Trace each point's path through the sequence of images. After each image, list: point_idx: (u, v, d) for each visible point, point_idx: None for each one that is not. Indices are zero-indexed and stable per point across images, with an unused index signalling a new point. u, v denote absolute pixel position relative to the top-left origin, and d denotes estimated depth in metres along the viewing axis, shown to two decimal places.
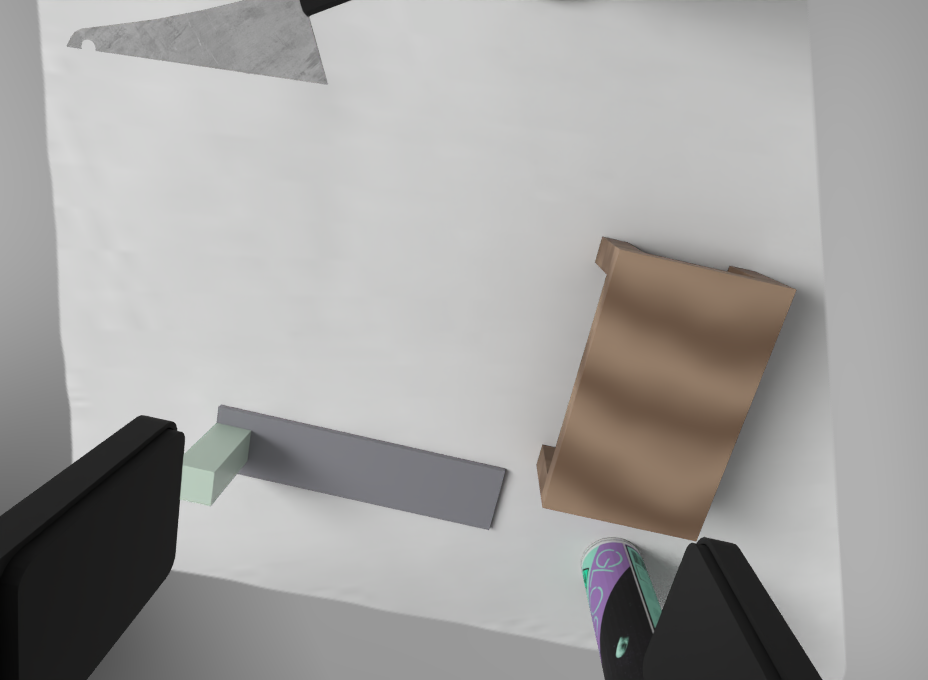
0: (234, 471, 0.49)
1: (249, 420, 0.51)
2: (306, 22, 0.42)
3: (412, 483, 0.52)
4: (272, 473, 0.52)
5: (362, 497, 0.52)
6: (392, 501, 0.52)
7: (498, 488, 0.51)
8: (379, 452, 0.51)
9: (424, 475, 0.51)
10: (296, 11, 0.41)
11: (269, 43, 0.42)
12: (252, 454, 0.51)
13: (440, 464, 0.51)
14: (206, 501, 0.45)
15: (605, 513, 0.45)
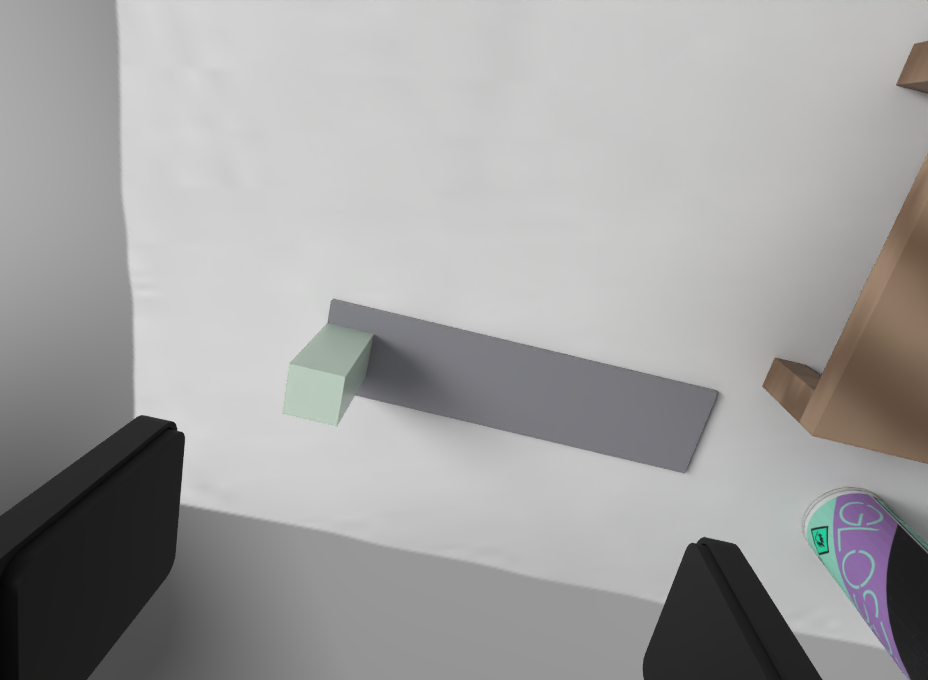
0: (356, 385, 0.36)
1: (372, 319, 0.37)
2: None
3: (587, 409, 0.38)
4: (398, 393, 0.39)
5: (517, 427, 0.39)
6: (558, 433, 0.39)
7: (705, 416, 0.38)
8: (546, 365, 0.38)
9: (605, 397, 0.38)
10: None
11: None
12: (373, 367, 0.38)
13: (629, 383, 0.38)
14: (330, 420, 0.32)
15: (903, 445, 0.31)
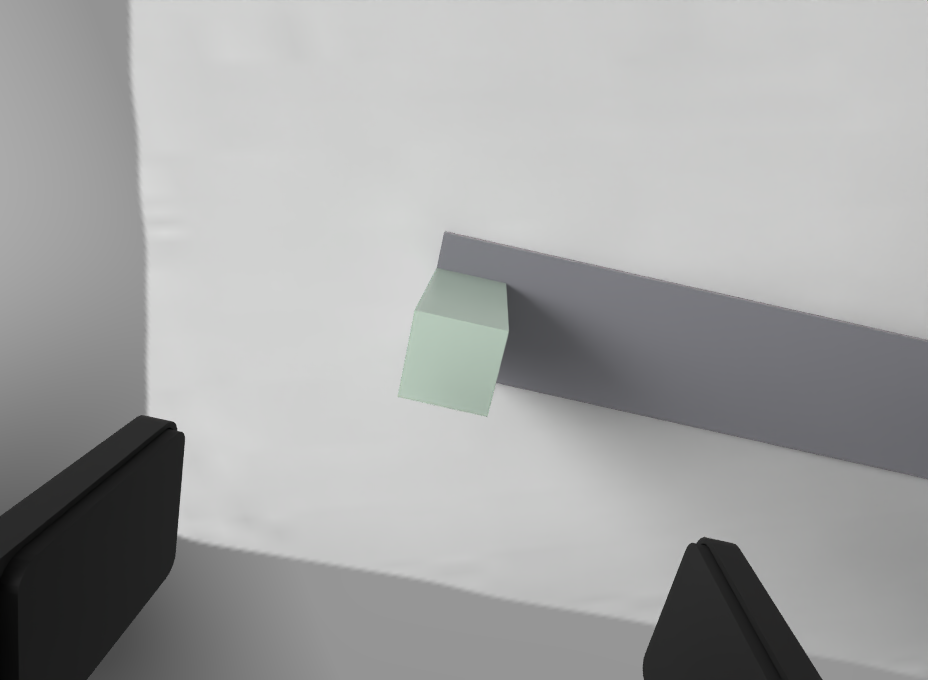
0: None
1: (505, 261, 0.25)
2: None
3: (822, 392, 0.26)
4: (537, 374, 0.26)
5: (713, 421, 0.26)
6: (773, 429, 0.26)
7: None
8: (766, 326, 0.25)
9: (851, 374, 0.25)
10: None
11: None
12: None
13: (890, 351, 0.25)
14: (478, 406, 0.19)
15: None
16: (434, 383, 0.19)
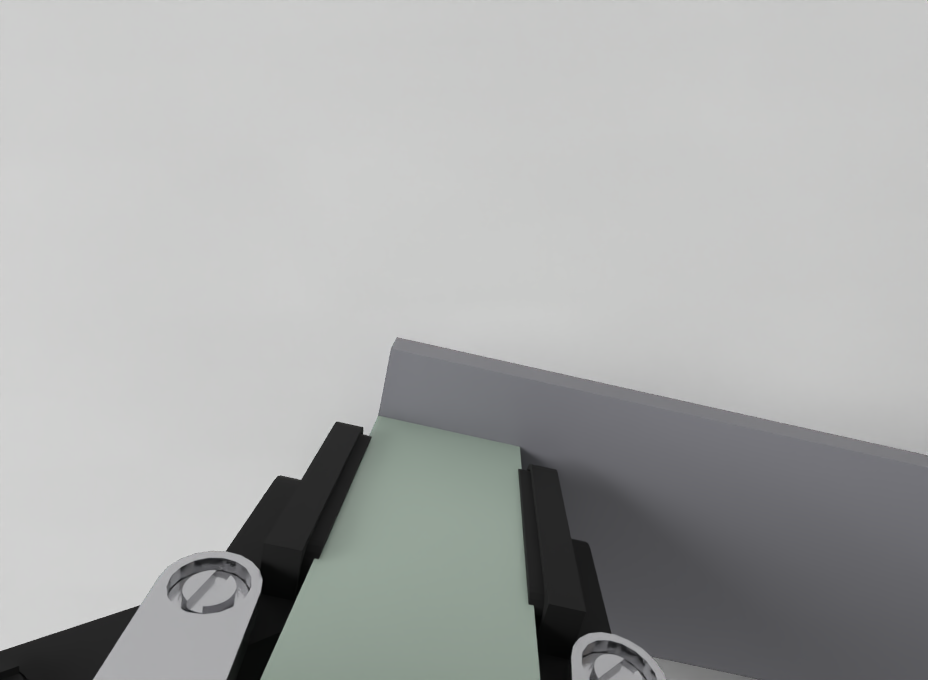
0: None
1: (518, 404, 0.12)
2: None
3: None
4: None
5: None
6: None
7: None
8: None
9: None
10: None
11: None
12: None
13: None
14: None
15: None
16: None
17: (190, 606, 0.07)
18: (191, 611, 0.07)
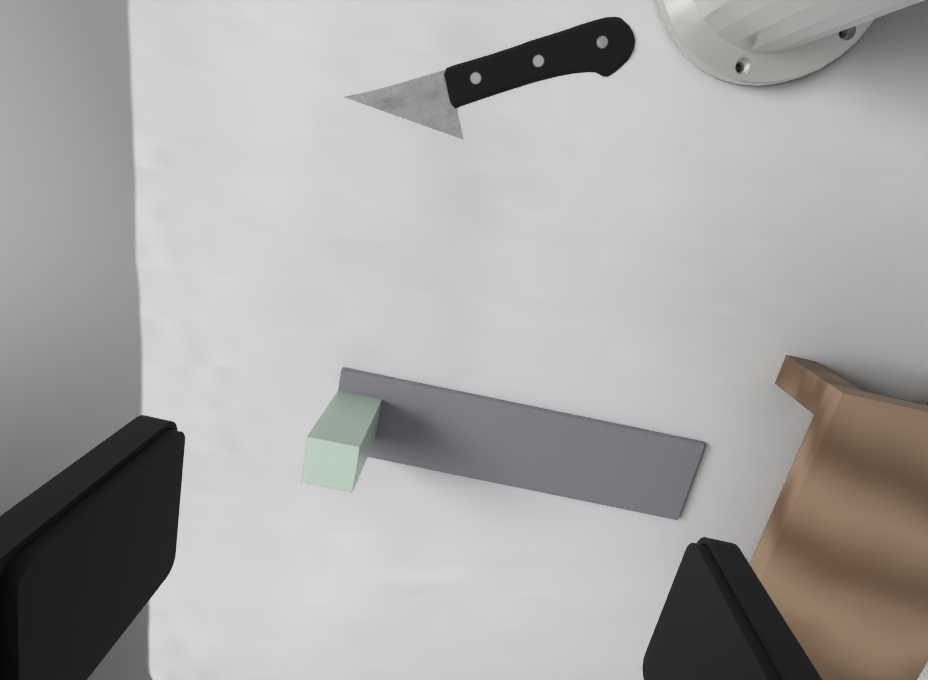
0: (368, 450, 0.38)
1: (380, 386, 0.40)
2: (453, 115, 0.35)
3: (584, 463, 0.41)
4: (406, 453, 0.41)
5: (519, 482, 0.42)
6: (557, 486, 0.41)
7: (694, 466, 0.41)
8: (544, 423, 0.40)
9: (600, 452, 0.41)
10: (442, 102, 0.35)
11: None
12: (381, 430, 0.41)
13: (622, 437, 0.40)
14: (346, 487, 0.34)
15: None
16: (321, 475, 0.34)
17: None
18: None
